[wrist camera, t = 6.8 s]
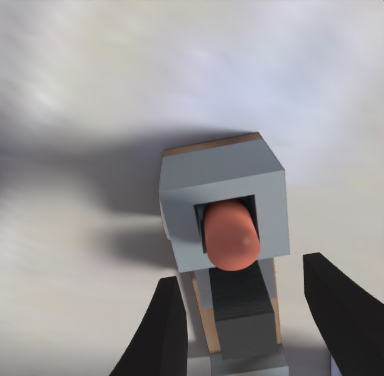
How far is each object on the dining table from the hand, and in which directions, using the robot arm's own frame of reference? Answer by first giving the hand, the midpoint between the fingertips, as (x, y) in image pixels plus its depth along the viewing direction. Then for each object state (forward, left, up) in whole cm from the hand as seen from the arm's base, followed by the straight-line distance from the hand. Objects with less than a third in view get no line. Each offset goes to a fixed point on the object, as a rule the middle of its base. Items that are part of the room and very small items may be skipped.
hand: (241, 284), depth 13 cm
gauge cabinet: (0, 0, -9) cm, 9 cm away
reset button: (0, 0, -5) cm, 5 cm away
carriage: (0, +6, -8) cm, 10 cm away
